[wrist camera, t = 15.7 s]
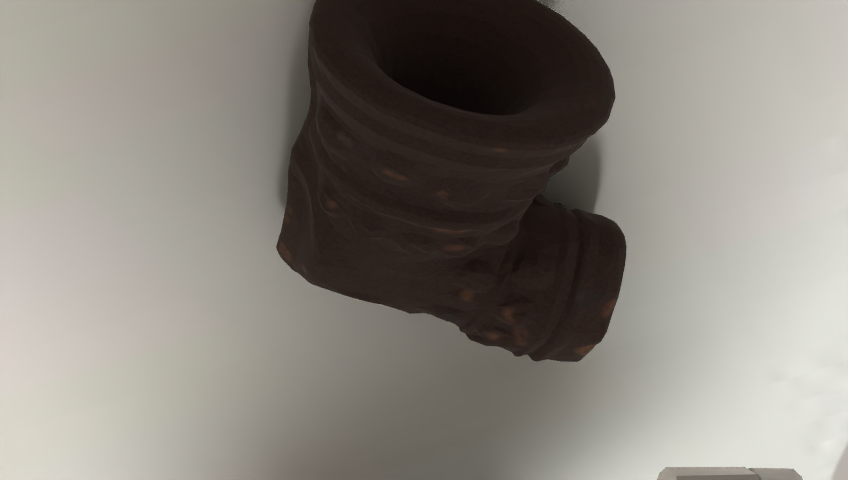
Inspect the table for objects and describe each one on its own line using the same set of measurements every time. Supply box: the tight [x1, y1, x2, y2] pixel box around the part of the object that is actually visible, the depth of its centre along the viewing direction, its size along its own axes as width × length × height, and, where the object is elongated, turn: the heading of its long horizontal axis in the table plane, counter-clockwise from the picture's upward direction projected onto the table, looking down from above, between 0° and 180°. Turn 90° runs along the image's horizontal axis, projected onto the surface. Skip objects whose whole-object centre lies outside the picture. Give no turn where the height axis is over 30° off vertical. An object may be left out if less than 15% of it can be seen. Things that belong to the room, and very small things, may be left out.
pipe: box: [276, 0, 626, 362], centre depth 34 cm, size 10×15×15 cm
